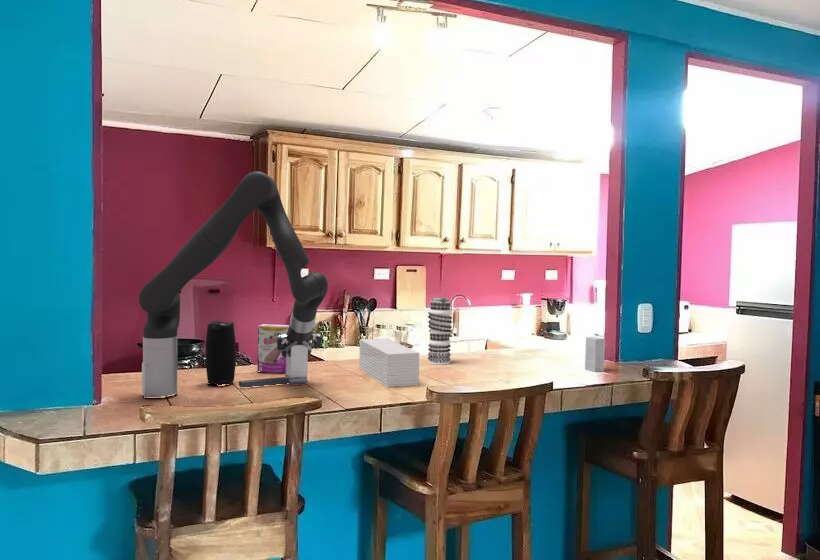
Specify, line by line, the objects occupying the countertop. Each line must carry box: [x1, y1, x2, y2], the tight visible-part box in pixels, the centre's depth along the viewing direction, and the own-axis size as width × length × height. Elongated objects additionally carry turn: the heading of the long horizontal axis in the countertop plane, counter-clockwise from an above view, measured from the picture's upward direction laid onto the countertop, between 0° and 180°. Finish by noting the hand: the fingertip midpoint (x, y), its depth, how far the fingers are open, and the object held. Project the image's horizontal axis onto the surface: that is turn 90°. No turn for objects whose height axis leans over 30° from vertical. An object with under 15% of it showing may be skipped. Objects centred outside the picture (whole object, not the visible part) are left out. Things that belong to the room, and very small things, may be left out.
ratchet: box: [238, 374, 308, 387], centre depth 200 cm, size 22×7×6 cm, turn 120°
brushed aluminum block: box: [285, 345, 309, 378], centre depth 203 cm, size 5×5×11 cm
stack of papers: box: [358, 337, 420, 388], centre depth 217 cm, size 32×11×11 cm, turn 21°
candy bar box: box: [257, 323, 289, 375], centre depth 219 cm, size 11×5×16 cm, turn 84°
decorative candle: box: [427, 296, 453, 366], centre depth 243 cm, size 9×9×25 cm
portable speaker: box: [205, 320, 237, 386], centre depth 199 cm, size 9×9×20 cm
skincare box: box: [584, 336, 606, 373], centre depth 234 cm, size 6×4×12 cm
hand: (295, 354), depth 205 cm, fingers open, 6 cm apart
